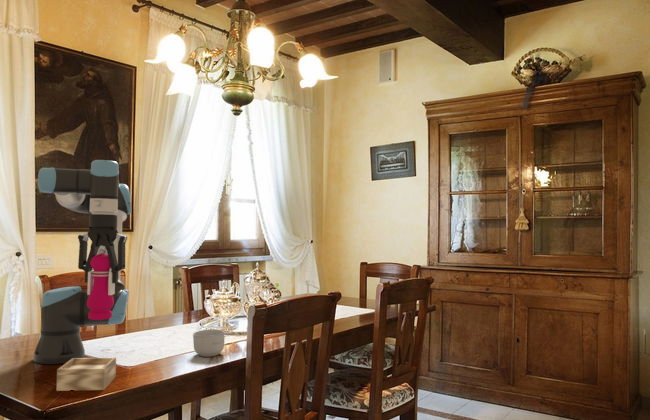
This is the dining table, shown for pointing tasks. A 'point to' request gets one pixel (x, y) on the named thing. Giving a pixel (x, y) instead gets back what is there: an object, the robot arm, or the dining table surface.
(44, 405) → the dining table surface
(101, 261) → the pepper mill
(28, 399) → the dining table surface
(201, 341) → the teacup
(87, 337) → the dining table surface
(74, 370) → the oak box
